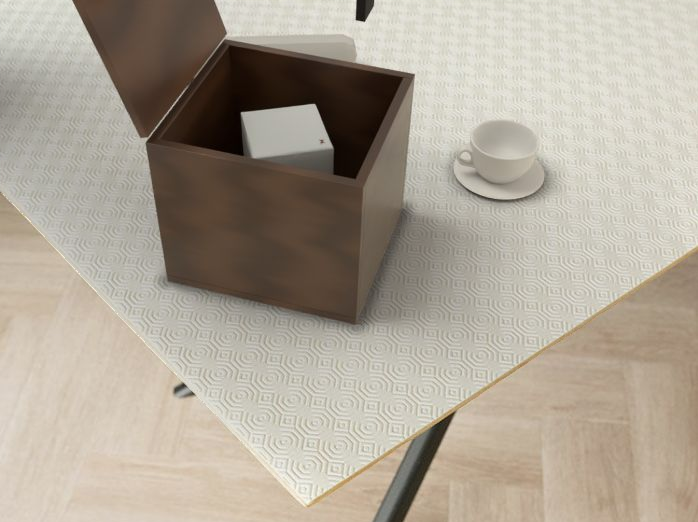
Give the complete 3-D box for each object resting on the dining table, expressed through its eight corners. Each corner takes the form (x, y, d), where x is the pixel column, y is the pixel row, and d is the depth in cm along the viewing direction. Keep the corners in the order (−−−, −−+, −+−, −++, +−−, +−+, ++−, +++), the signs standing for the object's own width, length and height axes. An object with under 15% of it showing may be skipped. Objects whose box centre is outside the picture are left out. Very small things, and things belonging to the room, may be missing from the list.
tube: (354, 27, 113) (149, 32, 110) (360, 35, 108) (146, 40, 105) (354, 71, 115) (153, 77, 113) (359, 81, 111) (151, 87, 108)
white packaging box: (317, 208, 94) (318, 101, 84) (333, 255, 89) (335, 148, 80) (246, 217, 93) (239, 109, 83) (258, 265, 88) (252, 157, 78)
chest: (402, 208, 96) (415, 73, 84) (355, 325, 84) (363, 187, 72) (234, 173, 99) (224, 38, 87) (167, 281, 87) (144, 142, 75)
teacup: (529, 144, 104) (537, 109, 101) (554, 199, 97) (563, 163, 94) (444, 150, 103) (448, 114, 99) (463, 206, 96) (469, 169, 93)
